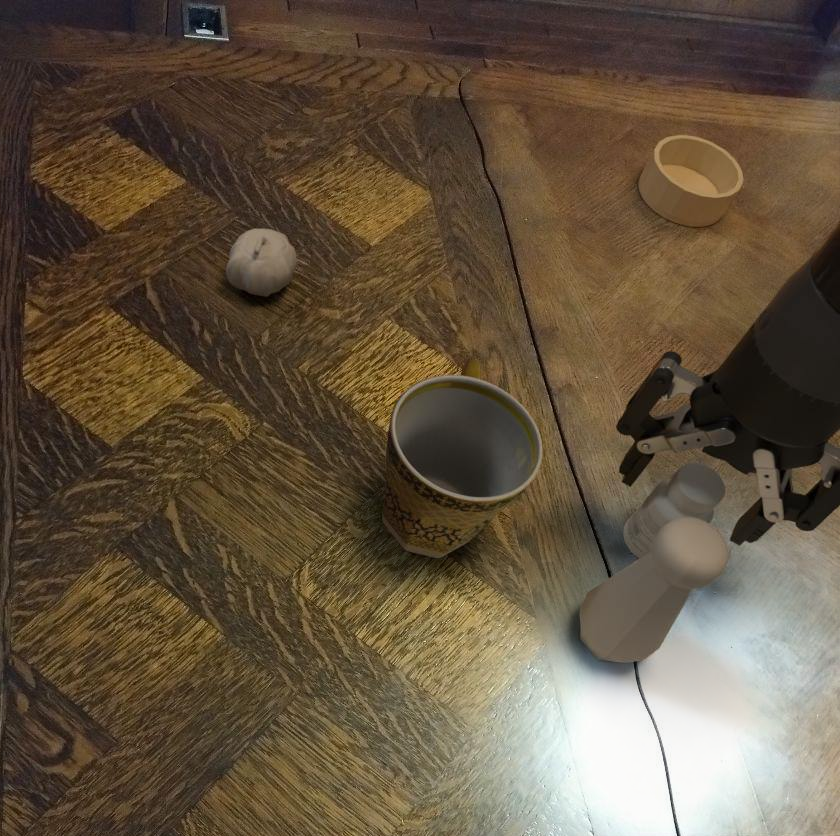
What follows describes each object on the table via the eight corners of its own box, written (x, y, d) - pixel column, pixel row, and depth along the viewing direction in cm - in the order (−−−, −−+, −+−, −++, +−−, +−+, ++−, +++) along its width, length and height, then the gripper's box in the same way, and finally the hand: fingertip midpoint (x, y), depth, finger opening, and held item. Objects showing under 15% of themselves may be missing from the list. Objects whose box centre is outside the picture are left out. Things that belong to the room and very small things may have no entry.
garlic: (252, 319, 78) (260, 271, 74) (209, 278, 80) (213, 228, 75) (307, 288, 81) (318, 240, 76) (264, 249, 82) (272, 199, 78)
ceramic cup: (488, 593, 68) (539, 517, 60) (348, 560, 68) (380, 479, 60) (501, 447, 75) (549, 361, 67) (374, 417, 75) (406, 326, 67)
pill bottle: (655, 577, 71) (709, 521, 65) (610, 535, 73) (658, 476, 66) (690, 546, 73) (745, 489, 67) (645, 506, 75) (695, 445, 68)
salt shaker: (552, 612, 69) (634, 512, 57) (618, 588, 70) (710, 488, 59) (595, 686, 66) (690, 597, 55) (663, 660, 68) (767, 568, 57)
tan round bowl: (703, 165, 98) (721, 134, 95) (738, 226, 94) (758, 197, 91) (625, 165, 96) (641, 134, 93) (657, 228, 92) (674, 198, 89)
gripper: (956, 366, 56) (790, 518, 69) (723, 251, 58) (608, 421, 72) (932, 454, 52) (762, 596, 66) (684, 327, 54) (571, 491, 68)
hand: (682, 504), depth 69 cm, fingers open, 7 cm apart
